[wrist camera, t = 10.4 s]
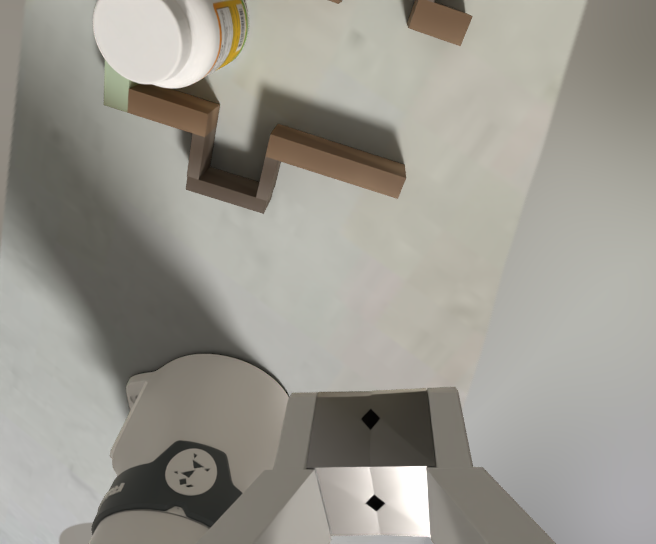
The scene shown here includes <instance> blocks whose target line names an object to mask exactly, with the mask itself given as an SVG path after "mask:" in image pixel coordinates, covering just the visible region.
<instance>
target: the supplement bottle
mask: <svg viewBox="0 0 656 544" xmlns="http://www.w3.org/2000/svg"><path fill="white" fill-rule="evenodd" d="M93 32H94V36H95V40H96V43H97V46H98V48H99V50H100V52H101V54H102V55H103V57H104V58H105V60H106V61H107V63H108V64H109V65H110V66H111V67H112V68H113V69H114V70H115V71H116V72H117V73H119V74H120V75H121V76H123V77H125V78H126V79H128V80H131V81H133V82H136V83H140V84H153V85H156V86H159V87H163V88H182V87H186V86H189V85H191V84H194V83H196V82H198V81H199V80H201V79H203V78H204V77H206V76H207V75H209V74H211V73H213V72H214V71H216V70H218V69H220V68H221V67H223V66H225V65H227V64H228V63H230V62H231V61H233V60H234V59H235V58H236V57H237V56H238V55H239V54H240V53H241V51H242V49H243V47H244V46H245V43H246V40H247V37H248V32H249V17H248V11H247V7H246V4H245V2H244V0H98V1H97V3H96V6H95V9H94V13H93Z"/></svg>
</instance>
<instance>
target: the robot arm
mask: <svg viewBox="0 0 656 544" xmlns="http://www.w3.org/2000/svg"><path fill="white" fill-rule="evenodd" d="M126 393H127V398H128V402H129V407H130V413H129V415H128V417H127V419H126V421H125V423H124V425H123V427H122V429H121V431H120V433H119V435H118V437H117V439H116V441H115V443H114V445H113V447H112V449H111V452H110V457H111V458H112V465H113V468H114V471H115V472H116V474H117V477H116V479H115V480H114V482H113V484H112V486H111V487H110V489H109V491H108V492H107V493H106V495H105V496H104V498H103V500H102V502H101V504H100V506H99V508H98V512H97V515H96V517H95V519H94V521H93V525H92V538H91V539H90V541H89V543H88V544H329V543H330V541H331V540H332V539H331V536H353V535H394V536H422V537H431V541H432V542H433V544H556V543H555V542H554V541H553V540H552V539H551V538H550V537H549V536H548V535H547V534H546V533H545V531H544V530H543V529H541V527H540V526H539V525H538V524H537V523H536V522H535V521H534V520H533V519H532V518H531V517H530V516H529V515H528V514H527V513H526V512H525V511H524V510H523V509H522V508H521V507H520V506H519V505H518V504H517V502H516V501H515V500H514V499H513V498H512V497H511V496H510V495H509V494H508V493H507V492H506V491H505V490H504V489H503V488H502V487H501V486H500V485H499V484H498V483H497V482H496V481H495V480H494V479H493V477H491V475H489V473H488V472H487V471H486V470H485V469H484V468H483V467H473V464H472V459H471V454H470V449H469V443H468V439H467V433H466V429H465V423H464V418H463V413H462V408H461V403H460V398H459V393H458V390H457V389H456V387H439V388H427V390H426V388H417V389H396V390H375V391H348V392H310V393H292V394H291V395H290V397H288V395H287V394H286V392H285V391H284V390H283V388H282V387H281V386H280V385H279V384H278V383H277V382H276V381H275V380H274V379H273V378H272V377H271V376H269V375H268V374H267V373H265V372H264V371H262V370H261V369H259V368H257V367H255V366H253V365H251V364H249V363H247V362H244V361H241V360H239V359H235V358H232V357H228V356H223V355H215V354H195V355H188V356H184V357H180V358H178V359H175V360H173V361H171V362H169V363H167V364H166V365H164V366H163V367H162V368H160V369H158V370H156V371H154V372H149V373H143V374H138V375H134V376H132V377H131V378H130V379H129V381H128V384H127V386H126Z"/></svg>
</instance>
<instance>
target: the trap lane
mask: <svg viewBox="0 0 656 544" xmlns="http://www.w3.org/2000/svg"><path fill="white" fill-rule="evenodd" d="M329 1H332V2H335V3H338V4H339V3H340V2H342V0H329ZM472 17H473V16H471V15H469V14H467V13H464V12H461V11H459V10H456V9H453V8H450V7H447V6H444V5H442V4H439V3H436V2H434V0H415V2H414V5H413V8H412V10H411V13H410V16H409V19H408V22H407V26H408V28H410V29H413V30H415V31H418V32H421V33H424V34H427V35H430V36H433V37H436V38H438V39H441V40H444V41H447V42H450V43H453V44H456V45H459V46H461V43H462V41H463V39H464V36H465V34H466V31H467V29H468V26H469V24H470V21H471V19H472ZM104 105H105V106H109V107H112V108H115V109H118V110H121V111H124V112H127V113H131V114H134V115H137V116H140V117H143V118H146V119H149V120H152V121H156V122H159V123H162V124H165V125H168V126H171V127H174V128H178V129H181V130H184V131H187V132H190V133H192V141H191V148H190V156H189V163H188V171H187V176H188V177H187V184H186V190H189V191H192V192H195V193H199V194H202V195H205V196H208V197H211V198H215V199H218V200H221V201H224V202H228V203H231V204H234V205H237V206H241V207H244V208H247V209H250V210H253V211H257V212H260V213H263V214H264V212H265V210H266V208H267V206H268V204H269V202H270V200H271V197H272V193H273V189H274V187H275V184H276V180H277V176H278V172H279V167H280V163H281V162H284V163H287V164H290V165H294V166H297V167H300V168H303V169H306V170H309V171H312V172H315V173H319V174H322V175H325V176H328V177H331V178H334V179H337V180H341V181H344V182H347V183H350V184H353V185H356V186H359V187H362V188H366V189H369V190H372V191H375V192H378V193H381V194H384V195H388V196H391V197H394V198H397V199H398V197H399V194H400V192H401V189H402V187H403V184H404V182H405V180H406V172H405V165H404V164H401V163H398V162H395V161H392V160H389V159H386V158H382V157H379V156H376V155H373V154H370V153H367V152H364V151H361V150H358V149H355V148H352V147H349V146H346V145H342V144H339V143H336V142H333V141H330V140H327V139H324V138H321V137H318V136H315V135H312V134H309V133H305V132H302V131H299V130H296V129H293V128H290V127H287V126H284V125H281V124H277V126H276V127H275V128H274V130H273V131H272V133H271V134H270V138H269V143H268V147H267V151H266V156H265V160H264V165H263V169H262V174H261V178H260V182H257V181H254V180H250V179H247V178H244V177H241V176H238V175H235V174H231V173H228V172H225V171H222V170H219V169H215V168H212V167H210V164H211V158H212V151H213V145H214V139H215V133H216V126H217V120H218V114H219V108H220V105H219V104H216V103H213V102H210V101H207V100H204V99H201V98H198V97H195V96H192V95H188V94H185V93H182V92H179V91H176V90H173V89H170V88H163V87H159V86H156V85H153V84H140V83H136V82H133V81H131V80H128V79H126V78H125V77H123V76H121V75H120V74H119V73H117V72H116V71H115V70H114V69H113V68H112V67H111V66H110V65H109V64H108V63H107V61H106V60H105V76H104Z"/></svg>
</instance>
